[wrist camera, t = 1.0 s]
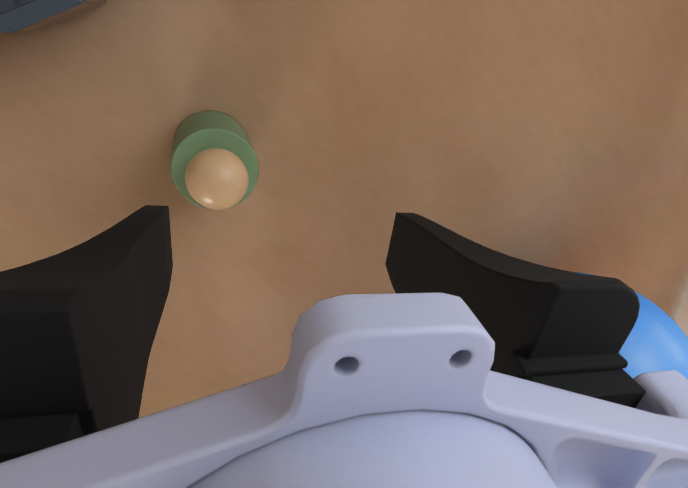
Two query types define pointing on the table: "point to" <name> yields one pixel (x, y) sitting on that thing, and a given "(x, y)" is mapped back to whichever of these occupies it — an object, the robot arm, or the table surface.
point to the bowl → (40, 13)
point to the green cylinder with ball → (213, 161)
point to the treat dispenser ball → (654, 342)
